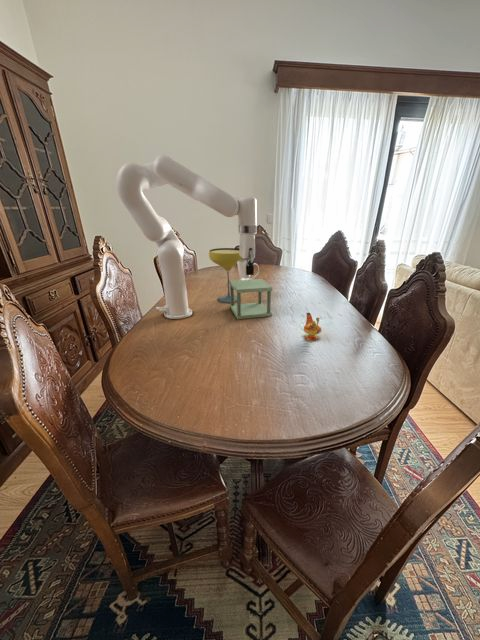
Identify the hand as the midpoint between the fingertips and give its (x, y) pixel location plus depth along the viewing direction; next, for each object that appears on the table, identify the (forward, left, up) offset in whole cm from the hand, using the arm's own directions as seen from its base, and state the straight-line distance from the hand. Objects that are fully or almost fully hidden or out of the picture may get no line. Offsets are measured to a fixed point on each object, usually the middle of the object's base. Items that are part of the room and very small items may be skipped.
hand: (247, 272), depth 128 cm
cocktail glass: (-5, +21, -19) cm, 29 cm away
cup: (0, 0, -3) cm, 3 cm away
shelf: (+1, 0, -19) cm, 19 cm away
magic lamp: (+17, -33, -19) cm, 42 cm away
